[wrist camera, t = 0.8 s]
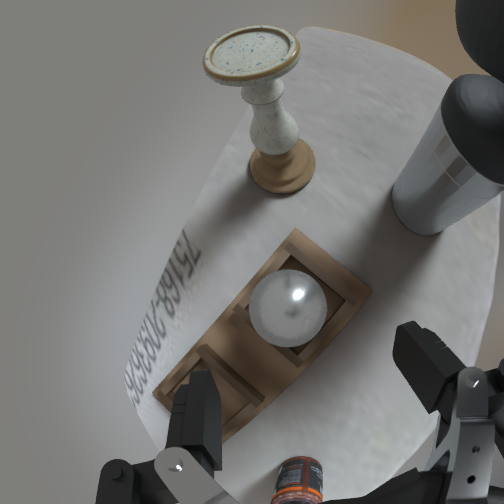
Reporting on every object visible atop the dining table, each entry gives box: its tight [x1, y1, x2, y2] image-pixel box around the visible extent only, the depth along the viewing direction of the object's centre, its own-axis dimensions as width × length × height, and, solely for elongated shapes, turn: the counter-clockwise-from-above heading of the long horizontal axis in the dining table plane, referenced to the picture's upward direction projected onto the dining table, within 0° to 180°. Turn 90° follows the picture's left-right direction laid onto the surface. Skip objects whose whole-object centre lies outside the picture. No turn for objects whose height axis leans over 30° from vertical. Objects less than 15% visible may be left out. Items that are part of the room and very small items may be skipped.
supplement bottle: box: [271, 456, 323, 504], centre depth 22 cm, size 6×6×11 cm
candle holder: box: [203, 25, 315, 194], centre depth 25 cm, size 9×9×20 cm
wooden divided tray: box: [152, 228, 372, 443], centre depth 30 cm, size 30×12×3 cm, turn 138°
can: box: [249, 269, 327, 347], centre depth 25 cm, size 6×6×11 cm
